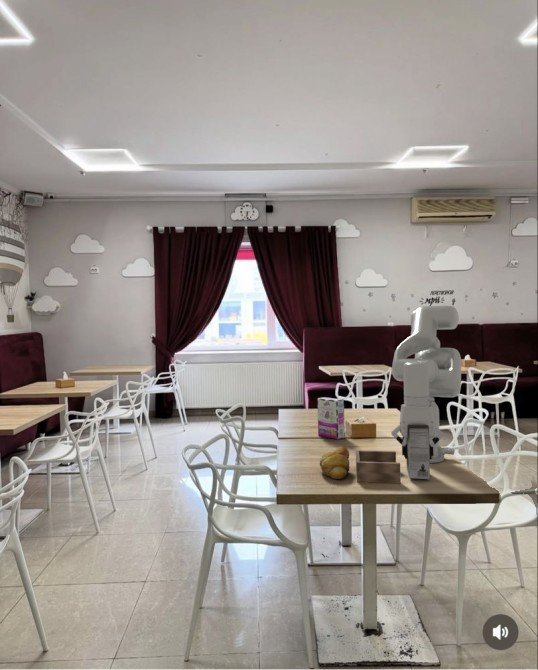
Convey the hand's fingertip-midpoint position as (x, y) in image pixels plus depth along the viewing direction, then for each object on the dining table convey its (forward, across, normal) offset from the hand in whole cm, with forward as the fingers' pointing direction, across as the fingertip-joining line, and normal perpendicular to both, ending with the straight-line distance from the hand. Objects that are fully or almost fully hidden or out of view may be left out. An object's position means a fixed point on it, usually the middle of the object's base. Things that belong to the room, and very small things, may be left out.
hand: (417, 457), depth 139 cm
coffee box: (+5, 0, 0) cm, 5 cm away
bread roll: (+6, +26, 0) cm, 27 cm away
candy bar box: (+6, +29, -46) cm, 55 cm away
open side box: (+6, +12, 0) cm, 14 cm away
